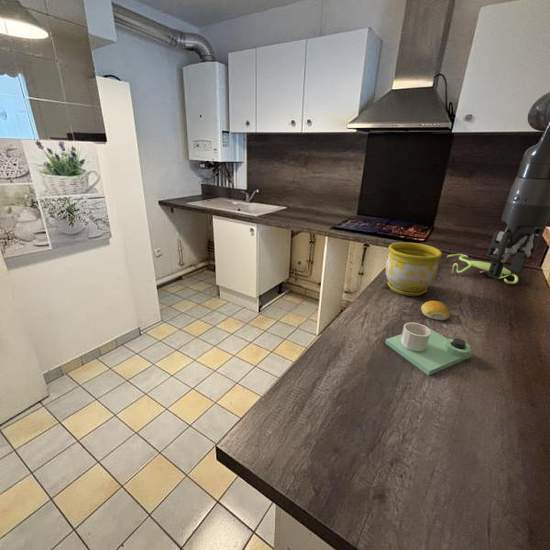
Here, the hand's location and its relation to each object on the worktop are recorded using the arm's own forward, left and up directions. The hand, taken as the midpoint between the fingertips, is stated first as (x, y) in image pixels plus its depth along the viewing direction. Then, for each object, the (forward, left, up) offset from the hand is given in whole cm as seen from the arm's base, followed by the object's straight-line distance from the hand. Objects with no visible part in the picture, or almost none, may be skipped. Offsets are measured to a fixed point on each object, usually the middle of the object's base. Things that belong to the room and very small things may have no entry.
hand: (504, 274), depth 66 cm
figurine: (-61, -37, -24) cm, 75 cm away
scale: (+8, -8, -24) cm, 27 cm away
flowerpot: (-18, -38, -24) cm, 49 cm away
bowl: (+11, -10, -23) cm, 27 cm away
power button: (+3, -4, -21) cm, 22 cm away
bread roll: (-11, -20, -24) cm, 33 cm away
